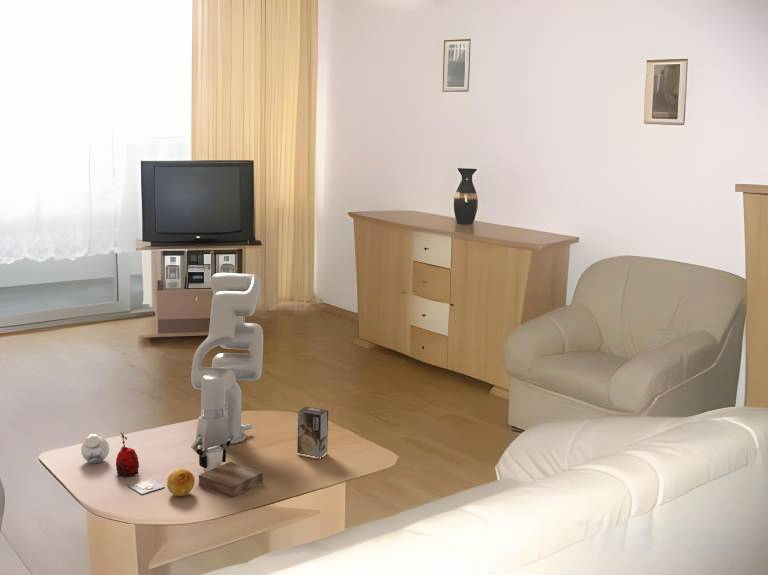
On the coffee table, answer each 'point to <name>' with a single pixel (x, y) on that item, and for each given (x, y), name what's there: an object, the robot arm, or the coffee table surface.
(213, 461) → the shot glass
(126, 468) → the red clay folk toy
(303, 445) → the coffee box
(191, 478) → the fruit
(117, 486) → the coffee table surface
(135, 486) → the card
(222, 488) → the walnut block
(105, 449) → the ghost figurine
